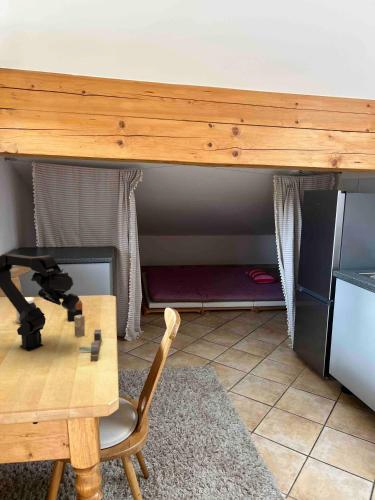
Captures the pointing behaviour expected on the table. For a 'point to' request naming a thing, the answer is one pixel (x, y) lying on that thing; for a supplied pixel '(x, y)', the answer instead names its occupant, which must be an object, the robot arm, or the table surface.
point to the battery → (78, 311)
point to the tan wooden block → (79, 325)
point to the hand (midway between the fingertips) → (67, 307)
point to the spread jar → (32, 304)
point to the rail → (93, 346)
